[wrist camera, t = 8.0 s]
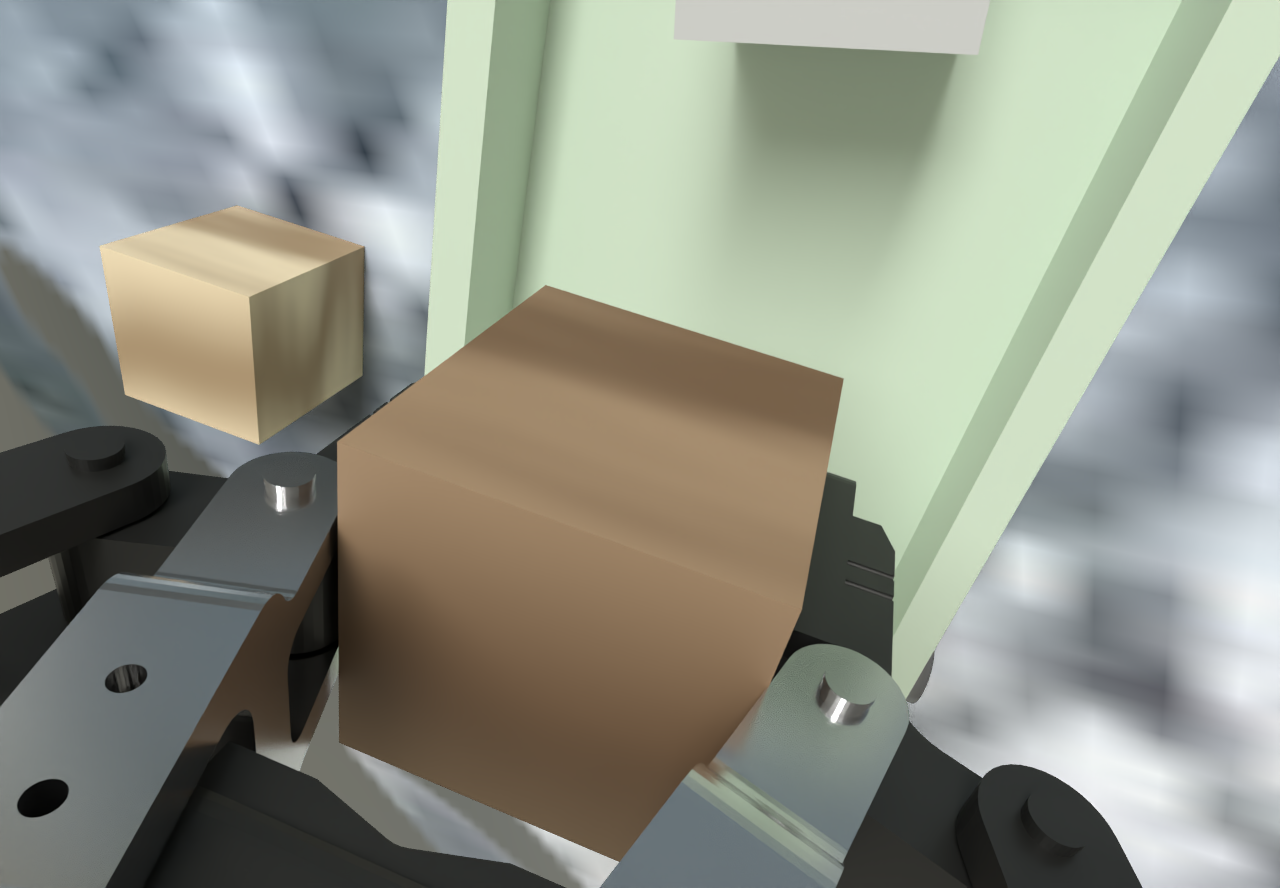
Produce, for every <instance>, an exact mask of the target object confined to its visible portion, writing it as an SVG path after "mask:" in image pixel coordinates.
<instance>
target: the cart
mask: <svg viewBox="0 0 1280 888" xmlns="http://www.w3.org/2000/svg"><path fill="white" fill-rule="evenodd" d="M675 4H676V0H448V2H447V19H446V35H445V51H444V68H443V84H442V100H441V116H440V133H439V149H438V165H437V181H436V198H435V214H434V230H433V246H432V263H431V279H430V295H429V311H428V328H427V344H426V360H425V375H427V374H428V373H429V372H431V371H432V370H433V369H435V368H436V367H437V366H439V365H440V364H441V363H443V362H444V361H445V360H447V359H448V358H449V357H451V356H452V355H453V354H454V353H456V352H457V351H458V350H460V349H461V348H462V347H464V346H465V345H466V344H468V343H469V342H470V341H472V340H473V339H474V338H476V337H477V336H478V335H480V334H481V333H482V332H484V331H485V330H486V329H488V328H489V327H490V326H492V325H493V324H494V323H496V322H497V321H498V320H500V319H501V318H502V317H504V316H505V315H506V314H508V313H509V312H510V311H512V310H513V309H514V308H516V307H517V306H518V305H520V304H521V303H522V302H524V301H525V300H526V299H528V298H529V297H530V296H532V295H533V294H534V293H536V292H537V291H538V290H540V289H541V288H542V287H544V286H545V285H547V286H551V287H554V288H557V289H560V290H563V291H567V292H570V293H573V294H576V295H579V296H582V297H586V298H589V299H592V300H595V301H598V302H602V303H605V304H608V305H611V306H614V307H618V308H621V309H624V310H627V311H630V312H633V313H637V314H640V315H643V316H646V317H649V318H653V319H656V320H659V321H662V322H665V323H669V324H672V325H675V326H678V327H681V328H684V329H688V330H691V331H694V332H697V333H700V334H704V335H707V336H710V337H713V338H716V339H719V340H723V341H726V342H729V343H732V344H735V345H739V346H742V347H745V348H748V349H751V350H755V351H758V352H761V353H764V354H767V355H770V356H774V357H777V358H780V359H783V360H786V361H790V362H793V363H796V364H799V365H802V366H806V367H809V368H812V369H815V370H818V371H821V372H825V373H828V374H831V375H834V376H837V377H841V378H844V380H843V386H842V391H841V397H840V402H839V408H838V413H837V419H836V424H835V430H834V435H833V441H832V446H831V452H830V457H829V463H828V468H827V472H830V473H833V474H836V475H839V476H842V477H844V478H847V479H850V480H853V481H856V493H855V502H854V510H853V516H855V517H858V518H861V519H864V520H867V521H870V522H873V523H876V524H878V525H881V526H882V528H883V529H884V531H885V533H886V535H887V537H888V539H889V541H890V543H891V545H892V546H893V548H894V550H895V576H894V579H893V581H894V597H893V600H892V601H894V611H893V645H892V678H893V679H894V681H895V682H896V684H897V685H898V686H899V688H900V689H901V691H902V693H903V695H904V697H905V699H906V701H907V702H910V703H916V702H917V701H918V700H919V698H920V697H921V695H922V694H923V692H924V690H925V688H926V685H927V683H928V680H929V677H930V674H931V670H932V666H933V661H934V650H935V648H936V646H937V645H938V643H939V641H940V640H941V638H942V636H943V634H944V633H945V631H946V629H947V627H948V626H949V624H950V622H951V621H952V619H953V617H954V615H955V614H956V612H957V610H958V609H959V607H960V605H961V603H962V602H963V600H964V598H965V596H966V595H967V593H968V591H969V590H970V588H971V586H972V584H973V583H974V581H975V579H976V578H977V576H978V574H979V572H980V571H981V569H982V567H983V565H984V564H985V562H986V560H987V559H988V557H989V555H990V553H991V552H992V550H993V548H994V547H995V545H996V543H997V541H998V540H999V538H1000V536H1001V534H1002V533H1003V531H1004V529H1005V528H1006V526H1007V524H1008V522H1009V521H1010V519H1011V517H1012V516H1013V514H1014V512H1015V510H1016V509H1017V507H1018V505H1019V503H1020V502H1021V500H1022V498H1023V497H1024V495H1025V493H1026V491H1027V490H1028V488H1029V486H1030V485H1031V483H1032V481H1033V479H1034V478H1035V476H1036V474H1037V472H1038V471H1039V469H1040V467H1041V466H1042V464H1043V462H1044V460H1045V459H1046V457H1047V455H1048V454H1049V452H1050V450H1051V448H1052V447H1053V445H1054V443H1055V442H1056V440H1057V438H1058V436H1059V435H1060V433H1061V431H1062V429H1063V428H1064V426H1065V424H1066V423H1067V421H1068V419H1069V417H1070V416H1071V414H1072V412H1073V411H1074V409H1075V407H1076V405H1077V404H1078V402H1079V400H1080V398H1081V397H1082V395H1083V393H1084V392H1085V390H1086V388H1087V386H1088V385H1089V383H1090V381H1091V380H1092V378H1093V376H1094V374H1095V373H1096V371H1097V369H1098V367H1099V366H1100V364H1101V362H1102V361H1103V359H1104V357H1105V355H1106V354H1107V352H1108V350H1109V349H1110V347H1111V345H1112V343H1113V342H1114V340H1115V338H1116V336H1117V335H1118V333H1119V331H1120V330H1121V328H1122V326H1123V324H1124V323H1125V321H1126V319H1127V318H1128V316H1129V314H1130V312H1131V311H1132V309H1133V307H1134V305H1135V304H1136V302H1137V300H1138V299H1139V297H1140V295H1141V293H1142V292H1143V290H1144V288H1145V287H1146V285H1147V283H1148V281H1149V280H1150V278H1151V276H1152V274H1153V273H1154V271H1155V269H1156V268H1157V266H1158V264H1159V262H1160V261H1161V259H1162V257H1163V256H1164V254H1165V252H1166V250H1167V249H1168V247H1169V245H1170V243H1171V242H1172V240H1173V238H1174V237H1175V235H1176V233H1177V231H1178V230H1179V228H1180V226H1181V225H1182V223H1183V221H1184V219H1185V218H1186V216H1187V214H1188V213H1189V211H1190V209H1191V207H1192V206H1193V204H1194V202H1195V200H1196V199H1197V197H1198V195H1199V194H1200V192H1201V190H1202V188H1203V187H1204V185H1205V183H1206V182H1207V180H1208V178H1209V176H1210V175H1211V173H1212V171H1213V169H1214V168H1215V166H1216V164H1217V163H1218V161H1219V159H1220V157H1221V156H1222V154H1223V152H1224V151H1225V149H1226V147H1227V145H1228V144H1229V142H1230V140H1231V138H1232V137H1233V135H1234V133H1235V132H1236V130H1237V128H1238V126H1239V125H1240V123H1241V121H1242V120H1243V118H1244V116H1245V114H1246V113H1247V111H1248V109H1249V107H1250V106H1251V104H1252V102H1253V101H1254V99H1255V97H1256V95H1257V94H1258V92H1259V90H1260V89H1261V87H1262V85H1263V83H1264V82H1265V80H1266V78H1267V76H1268V75H1269V73H1270V71H1271V70H1272V68H1273V66H1274V64H1275V63H1276V61H1277V59H1278V58H1279V56H1280V0H990V3H989V8H988V12H987V17H986V21H985V26H984V30H983V35H982V39H981V44H980V48H979V53H978V55H966V54H947V53H928V52H908V51H889V50H870V49H850V48H831V47H812V46H792V45H773V44H754V43H735V42H715V41H696V40H677V39H674V24H675Z"/></svg>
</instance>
